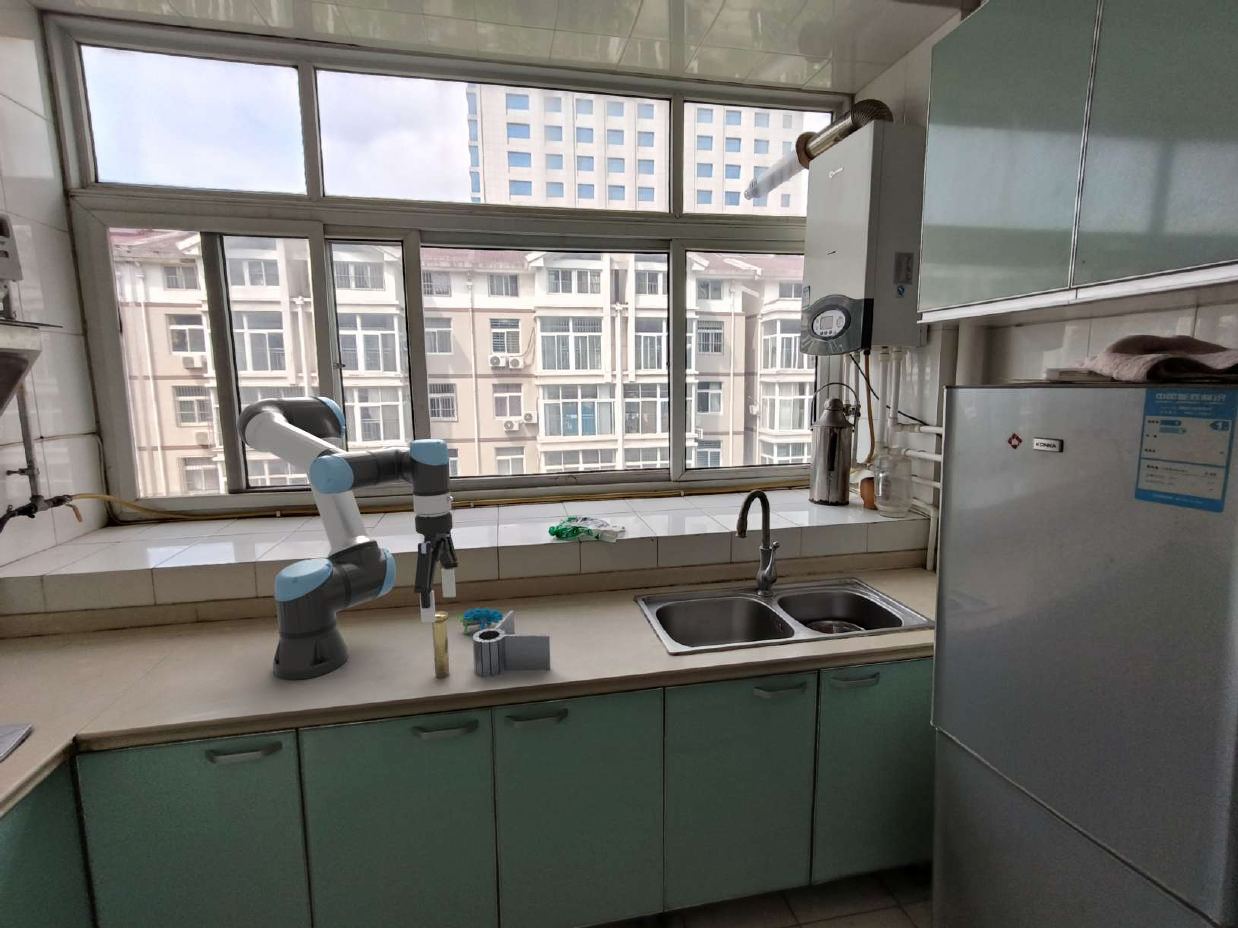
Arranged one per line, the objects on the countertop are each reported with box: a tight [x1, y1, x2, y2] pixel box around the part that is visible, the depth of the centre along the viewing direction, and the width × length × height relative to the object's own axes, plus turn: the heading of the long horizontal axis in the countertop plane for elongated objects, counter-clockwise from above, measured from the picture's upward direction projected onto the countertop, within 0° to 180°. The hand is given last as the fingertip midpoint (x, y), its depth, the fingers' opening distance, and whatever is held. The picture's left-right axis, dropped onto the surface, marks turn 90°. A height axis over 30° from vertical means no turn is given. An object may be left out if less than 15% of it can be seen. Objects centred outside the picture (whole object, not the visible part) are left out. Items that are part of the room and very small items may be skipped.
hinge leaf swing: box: [494, 610, 516, 634], centre depth 138 cm, size 10×1×8 cm, turn 169°
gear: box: [459, 607, 504, 635], centre depth 148 cm, size 11×6×10 cm
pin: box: [431, 610, 450, 680], centre depth 126 cm, size 4×4×14 cm
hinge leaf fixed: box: [472, 627, 551, 678], centre depth 129 cm, size 17×7×8 cm, turn 89°
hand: (439, 608), depth 125 cm, fingers open, 13 cm apart
